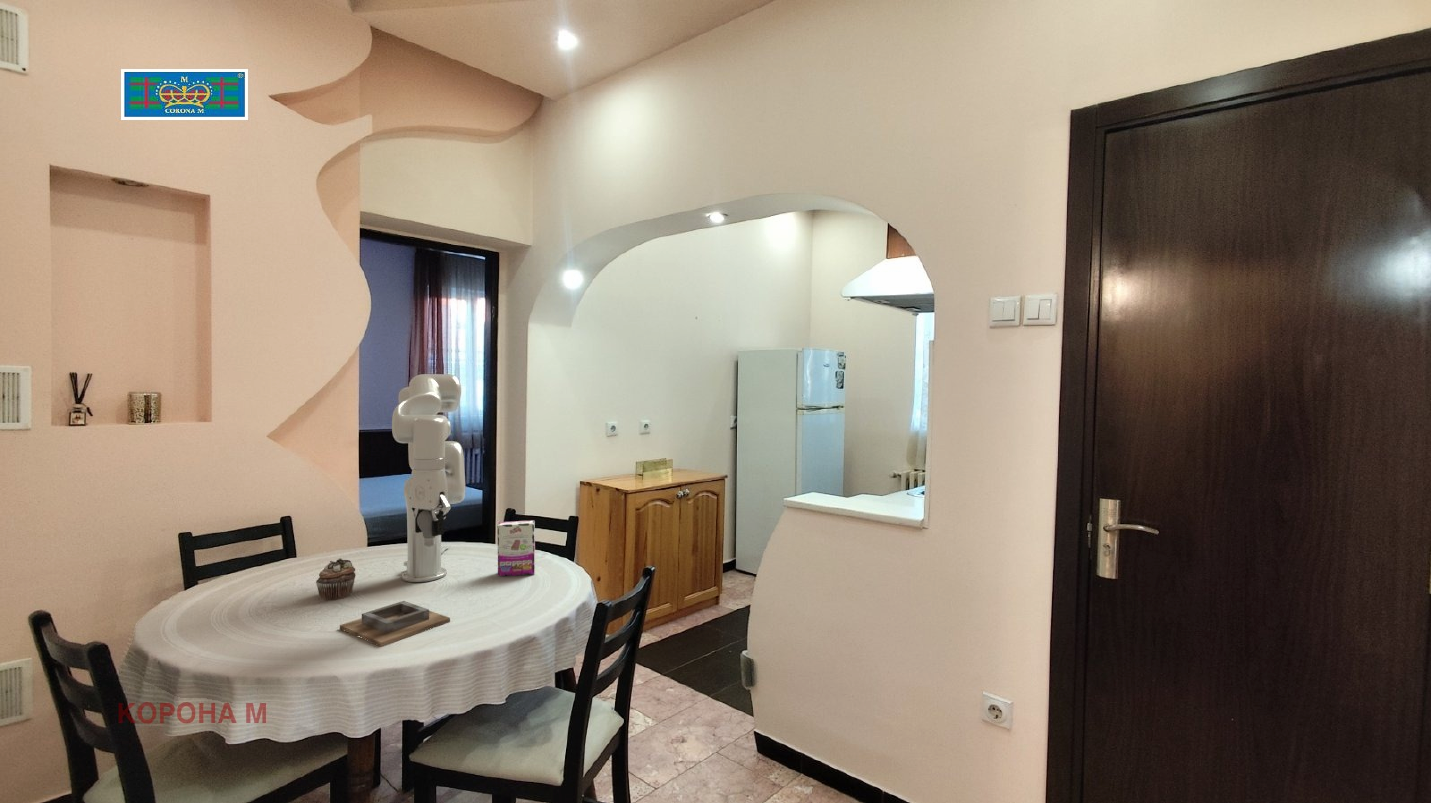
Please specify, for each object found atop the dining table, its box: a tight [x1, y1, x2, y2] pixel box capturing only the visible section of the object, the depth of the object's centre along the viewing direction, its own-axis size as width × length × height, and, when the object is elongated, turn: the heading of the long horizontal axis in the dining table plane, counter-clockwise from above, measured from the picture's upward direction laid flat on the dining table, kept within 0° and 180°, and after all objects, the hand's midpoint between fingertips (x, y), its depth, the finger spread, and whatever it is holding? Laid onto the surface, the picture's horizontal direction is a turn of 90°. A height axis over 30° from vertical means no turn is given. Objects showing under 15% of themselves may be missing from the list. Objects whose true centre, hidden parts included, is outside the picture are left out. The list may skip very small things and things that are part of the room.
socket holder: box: [339, 600, 451, 648], centre depth 159 cm, size 18×18×4 cm
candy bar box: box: [497, 520, 536, 577], centre depth 201 cm, size 11×5×16 cm, turn 104°
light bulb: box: [417, 510, 439, 547], centre depth 166 cm, size 6×6×10 cm
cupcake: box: [315, 558, 356, 601], centre depth 180 cm, size 10×10×10 cm
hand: (429, 532), depth 166 cm, fingers closed on light bulb, 6 cm apart
